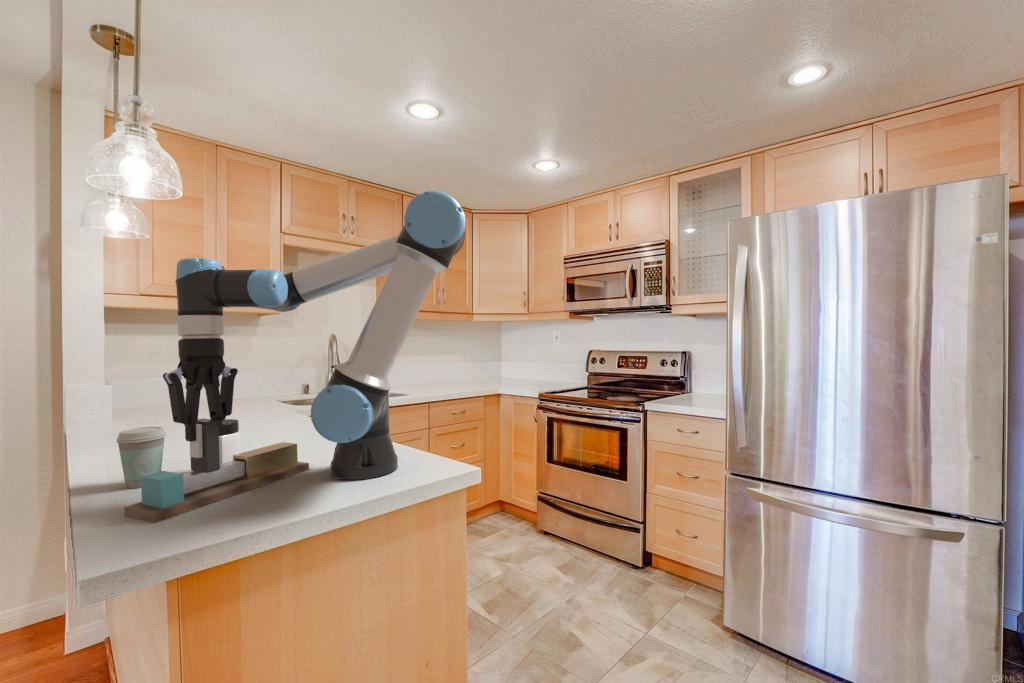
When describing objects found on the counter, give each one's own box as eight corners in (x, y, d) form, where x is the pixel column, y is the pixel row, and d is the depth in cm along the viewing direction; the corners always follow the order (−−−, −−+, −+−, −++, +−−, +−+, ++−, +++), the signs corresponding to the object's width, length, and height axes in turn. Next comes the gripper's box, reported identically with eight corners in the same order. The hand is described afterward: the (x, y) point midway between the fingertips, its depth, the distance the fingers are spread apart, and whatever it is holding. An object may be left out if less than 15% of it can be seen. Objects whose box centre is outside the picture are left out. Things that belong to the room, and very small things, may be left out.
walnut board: (282, 465, 112) (282, 459, 112) (309, 469, 108) (308, 462, 108) (124, 515, 82) (124, 507, 82) (154, 522, 78) (154, 514, 78)
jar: (225, 466, 113) (223, 418, 112) (249, 468, 110) (247, 419, 110) (188, 476, 104) (187, 425, 104) (213, 480, 101) (212, 426, 101)
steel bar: (260, 464, 104) (258, 408, 104) (275, 466, 102) (274, 409, 102) (165, 493, 86) (162, 425, 86) (181, 496, 84) (179, 426, 84)
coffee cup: (126, 493, 94) (124, 435, 94) (111, 486, 98) (109, 431, 98) (174, 481, 101) (173, 428, 101) (158, 475, 106) (156, 424, 105)
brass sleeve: (283, 461, 110) (282, 442, 110) (297, 463, 108) (297, 443, 108) (233, 477, 98) (232, 455, 98) (248, 479, 96) (247, 457, 96)
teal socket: (164, 497, 86) (163, 470, 86) (183, 501, 84) (183, 474, 84) (142, 504, 83) (141, 476, 83) (161, 508, 81) (160, 480, 80)
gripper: (227, 337, 99) (230, 444, 99) (145, 338, 85) (149, 463, 85) (250, 336, 96) (253, 447, 96) (169, 337, 81) (173, 467, 82)
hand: (204, 454), depth 90 cm, fingers closed on steel bar, 2 cm apart
